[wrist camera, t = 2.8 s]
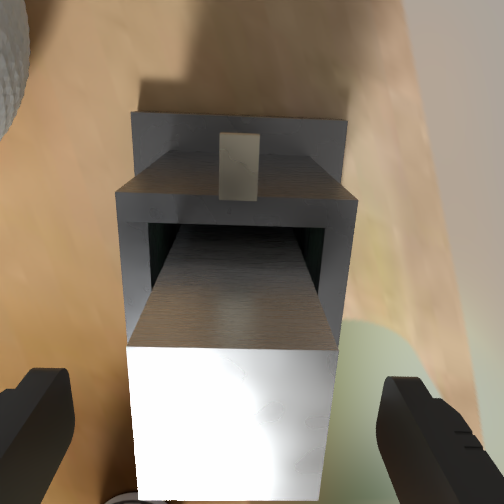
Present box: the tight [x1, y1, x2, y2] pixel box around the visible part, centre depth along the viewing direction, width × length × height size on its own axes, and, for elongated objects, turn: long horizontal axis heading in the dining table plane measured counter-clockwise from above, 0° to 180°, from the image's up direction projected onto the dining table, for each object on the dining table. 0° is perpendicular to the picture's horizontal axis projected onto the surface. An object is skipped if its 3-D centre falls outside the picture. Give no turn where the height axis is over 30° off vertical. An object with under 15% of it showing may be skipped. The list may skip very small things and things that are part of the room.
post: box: [126, 224, 339, 501], centre depth 17 cm, size 5×5×16 cm
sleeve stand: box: [115, 111, 358, 347], centre depth 20 cm, size 12×12×13 cm
